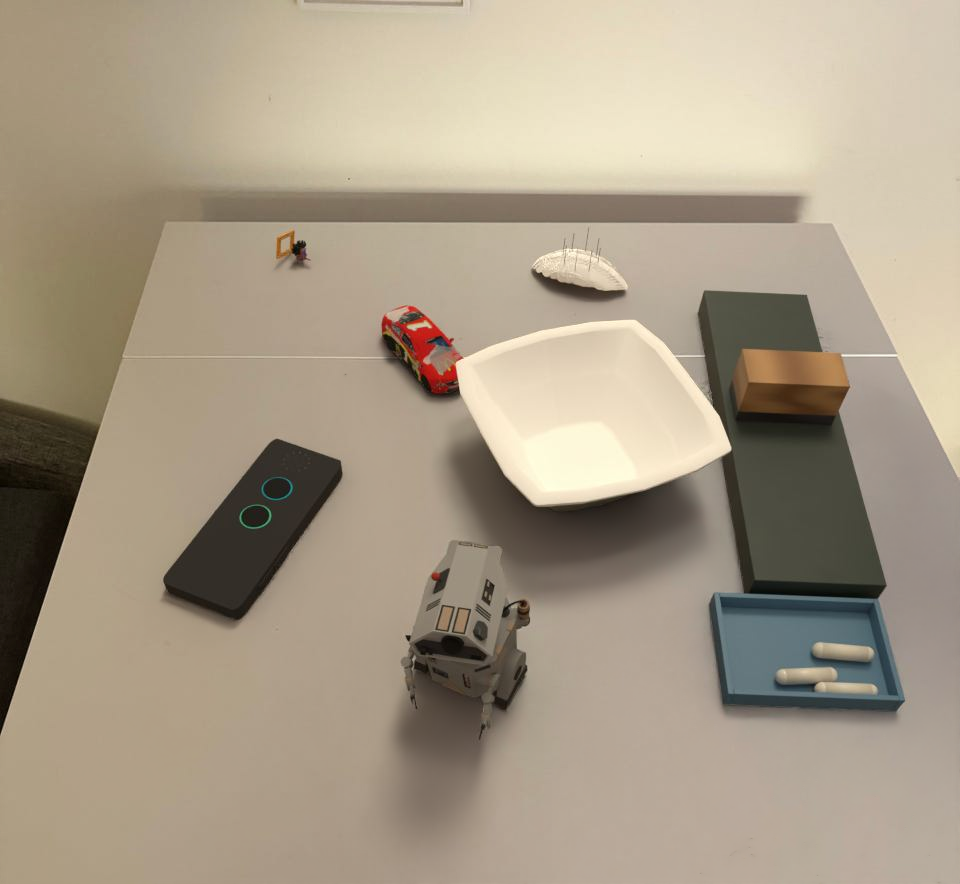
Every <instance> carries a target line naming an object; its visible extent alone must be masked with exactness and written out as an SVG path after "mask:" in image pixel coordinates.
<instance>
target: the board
mask: <svg viewBox="0 0 960 884" xmlns="http://www.w3.org/2000/svg"><path fill="white" fill-rule="evenodd" d="M698 310H699V314H698V319H699V318H700V320H699V325H700V324H701V326H700V331H701V330H702V332H701V338H702V337H703V338H702V343H703V342H704V344H703V349H704V348H705V350H704V356H705V362H706V367H707V373H708V379H709V386H710V392H711V398H712V404H713V405H712V406H713V408H714V409H715V411H716V412H717V414H718V415H719V416H720V419H721V422H722V424H723V427H724V430H725V432H726V435H727V437H728V440H729V443H730V445H731V451H730V453H728V454H726V455H725V456H723V457H721V459H722V465H723V471H724V476H725V477H724V478H725V482H726V489H727V494H728V501H729V506H730V513H731V518H732V525H733V531H734V536H735V542H736V548H737V555H738V561H739V567H740V572H741V578H742V586H743V591H744V594H767V595H792V596H816V597H841V598H865V599H878V600H879V598H880V596H881V595H882V594H883V592H884V590H886V587H887V586H888V585H887V581H886V578H885V574H884V570H883V567H882V563H881V559H880V556H879V552H878V548H877V545H876V541H875V537H874V533H873V529H872V526H871V522H870V518H869V515H868V512H867V509H866V505H865V501H864V497H863V495H862V490H861V486H860V483H859V480H858V475H857V472H856V468H855V464H854V461H853V458H852V457H853V456H852V454H851V450H850V445H849V441H848V439H847V435H846V432H845V427H844V425H843V421H842V417H841V413H840V410H839V411H838V413H837V415H836V417H835V419H834V421H833V424H810V423H787V422H764V421H741V420H735V415H734V410H733V404H732V399H731V393H730V388H729V387H730V384H731V381H732V379H733V375H734V372H735V369H736V366H737V363H738V360H739V357H740V354H741V351H742V349H758V350H780V351H803V352H823V348H822V344H821V341H820V338H819V333H818V330H817V326H816V323H815V319H814V315H813V311H812V309H811V304H810V300H809V298H808V295H807V294H800V293H799V294H798V293H797V294H795V293H777V292H776V293H775V292H756V291H755V292H754V291H753V292H752V291H751V292H750V291H730V290H711V289H708V290H706V289H705V290H703V293H702V296H701V299H700V303H699V307H698Z"/></svg>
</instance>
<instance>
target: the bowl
mask: <svg viewBox="0 0 960 884" xmlns="http://www.w3.org/2000/svg"><path fill="white" fill-rule="evenodd" d="M463 358H464V359H461V360H459V361H457V362H456V370H457V376H458V382H459V388H460V389H459V394H460V397H461V399H462V400H463V402H464V405H465V407H466V408H467V410H468V412H469V414H470V416H471V418H472V420H473V421H474V424H475V425H476V427H477V429H478V431H479V433H480V435H481V437H482V438H483V440H484V442H485V443H486V445H487V448H488V449H489V451H490V453H491V454H492V455H493V458H494V459H495V461H496V464H497V465H498V467H499V468H500V470H501V472H502V473H503V475H504V477H505V478H506V479H507V480H509V482H510V483H511V484H512V485H513V486H514V487H515V488H516V489H517V490H518V491H519V492H520V493H521V495H523V496H524V498H526V500H528V501H529V503H530V504H531V505H533V506H534V507H536V508H537V507H538V508H544V507H545V508H546V507H547V508H550V509H551V510H552V511H554V512H568V511H569V512H571V511H581V510H584V509H590V508H593V507H599V506H604V505H606V504H609V503H612V502H614V501H617V500H619V499H622V498H625V497H628V496H630V495H632V494H636V493H641V492H645V491H648V490H650V489H654V488H656V487H658V486H661V485H664V484H667V483H669V482H672V481H675V480H677V479H680V478H683V477H685V476H688V475H691V474H693V473H696V472H698V471H700V470H702V469H704V468H705V467H707V466H708V465H711V464H712V463H715V462H716V461H718V460H719V459H722V457H723V456H725V455H726V454H728V453H730V451H731V445H730V443H729V440H728V437H727V435H726V432H725V430H724V427H723V424H722V422H721V419H720V416H719V415H718V414H717V412H716V411H715V409H714V406H713V405H712V404H711V403H710V401H709V400H708V399H707V397H706V396H705V394H704V393H703V392H702V390H701V389H700V388H699V386H698V385H697V384H696V382H695V381H694V379H693V378H692V376H691V375H690V374H689V373H688V372H687V370H686V369H685V368H684V367H683V365H682V364H681V363H680V361H679V360H678V359H677V358H676V356H675V354H673V352H672V351H671V350H670V348H669V347H668V346H667V345H666V343H665V342H664V341H663V340H661V339H660V338H659V337H657V336H656V335H655V334H654V333H652V332H651V331H650V330H649V329H648V328H646V327H645V326H644V325H642V324H641V322H639V321H638V320H636V319H621V320H619V319H618V320H605V321H604V320H603V321H602V320H601V321H590V322H584V323H579V324H571V325H566V326H561V327H553V328H548V329H541V330H539V331H535V332H532V333H528V334H525V335H522V336H519V337H515V338H512V339H508V340H506V341H502V342H499V343H495V344H492V345H490V346H488V347H486V348H483V349H481V350H479V351H477V352H474V353H472V354H471V355H467V356H466V357H463Z"/></svg>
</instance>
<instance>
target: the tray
mask: <svg viewBox="0 0 960 884" xmlns="http://www.w3.org/2000/svg"><path fill="white" fill-rule="evenodd" d="M708 607H709V616H710V622H711V623H710V624H711V630H712V639H713V645H714V651H715V659H716V660H715V661H716V666H717V667H716V668H717V673H718V680H719V688H720V694H721V702H722V705H725V706H749V707H750V706H751V707H752V706H753V707H772V708H773V707H775V708H777V707H778V708H799V709H800V708H801V709H825V710H827V709H828V710H848V711H849V710H851V711H852V710H853V711H877V712H897V711H898V710H899V709H900V708H901V707H902V706H903V704H904V703H905V702H906V697H905V694H904V691H903V687H902V683H901V678H900V675H899V672H898V671H899V670H898V668H897V664H896V660H895V656H894V652H893V649H892V645H891V642H890V638H889V634H888V630H887V626H886V623H885V620H884V615H883V612H882V611H883V610H882V607H881V604H880V601H879V598H878V599H865V598H841V597H816V596H792V595H767V594H745V593H740V592H739V593H738V592H717V591H716V592H715V591H714V592H713V593H712V596H711V597H710V601H709V603H708ZM818 642H823V643H834V644H845V645H856V646H867V647H870V648H872V649H873V651H874V658H873V659H872V660H871V661H869V662H857V661H846V660H835V659H824V658H817V657H815V656H814V655H813V654H812V647H813V645H814V644H816V643H818ZM818 667H831V668H834V669H835V670H836V671H837V675H838V676H837V679H836V680H835V681H834V682H839V683H864V684H873V685H874V686H876V688H877V689H878V695H868V694H843V693H818V692H814V687H815V685H816V684H798V685H781V684H779V683H778V682H777V681H776V679H775V675H776V673H777V671H778V670H780V669H793V668H818Z"/></svg>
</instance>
